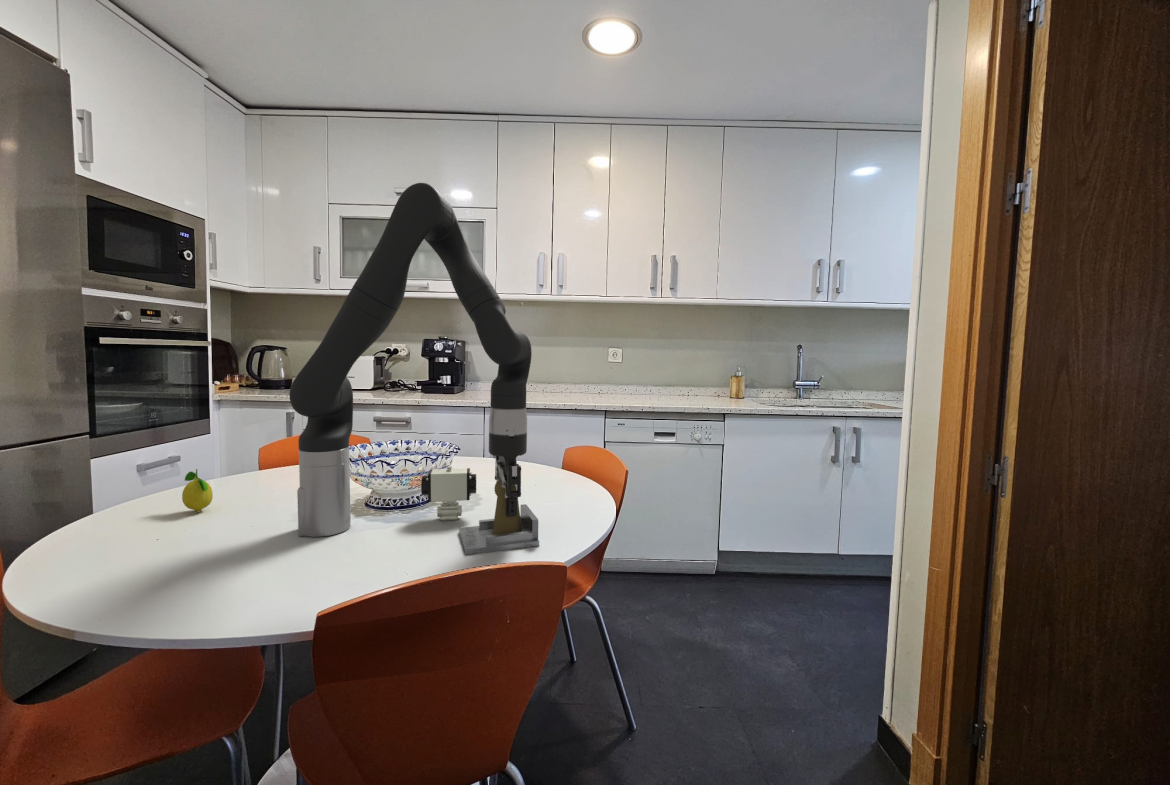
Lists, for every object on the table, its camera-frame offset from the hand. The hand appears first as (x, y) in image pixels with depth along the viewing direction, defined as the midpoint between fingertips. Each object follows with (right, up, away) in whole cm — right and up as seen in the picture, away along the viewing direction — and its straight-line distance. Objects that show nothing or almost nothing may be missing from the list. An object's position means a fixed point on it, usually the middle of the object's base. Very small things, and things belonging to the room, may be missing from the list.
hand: (506, 509), depth 100 cm
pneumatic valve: (-15, -5, +12) cm, 20 cm away
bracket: (-2, -6, 0) cm, 6 cm away
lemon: (-73, -4, +13) cm, 74 cm away
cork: (0, -5, +1) cm, 5 cm away
